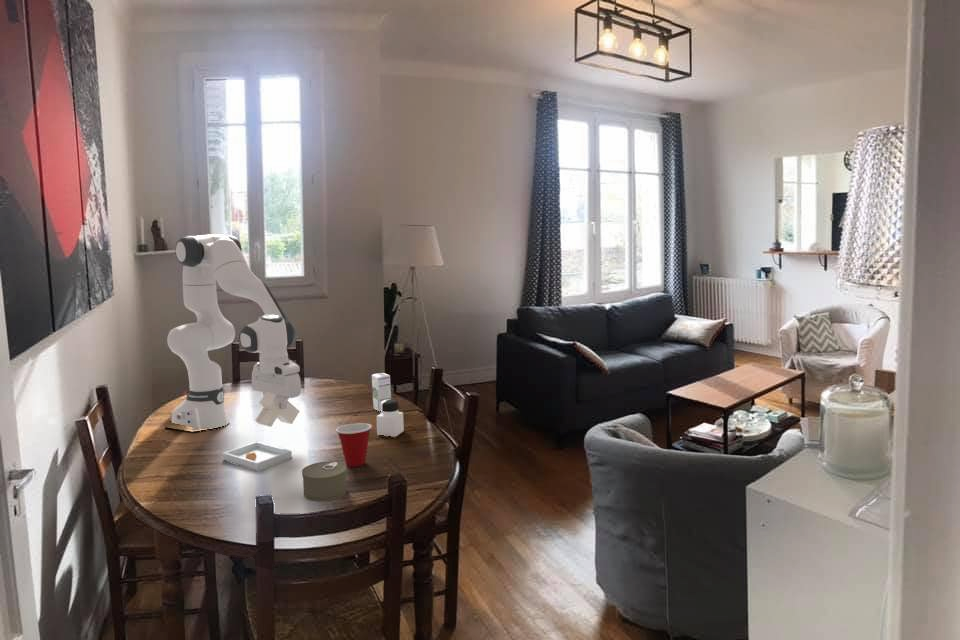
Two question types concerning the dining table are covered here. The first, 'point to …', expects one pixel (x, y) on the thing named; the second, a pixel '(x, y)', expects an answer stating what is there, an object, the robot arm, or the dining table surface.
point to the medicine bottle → (390, 419)
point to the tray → (258, 455)
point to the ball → (251, 456)
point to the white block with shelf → (275, 410)
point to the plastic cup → (354, 443)
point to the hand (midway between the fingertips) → (276, 407)
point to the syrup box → (380, 389)
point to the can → (324, 481)
